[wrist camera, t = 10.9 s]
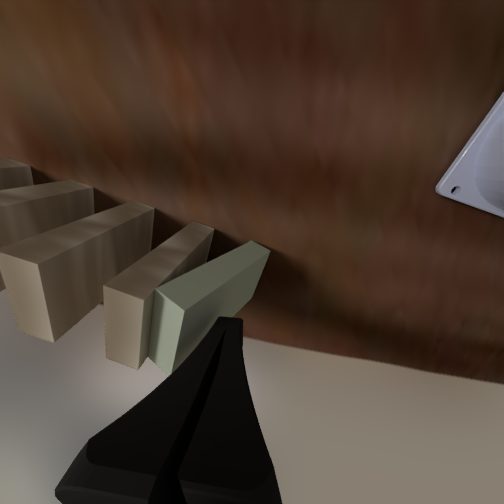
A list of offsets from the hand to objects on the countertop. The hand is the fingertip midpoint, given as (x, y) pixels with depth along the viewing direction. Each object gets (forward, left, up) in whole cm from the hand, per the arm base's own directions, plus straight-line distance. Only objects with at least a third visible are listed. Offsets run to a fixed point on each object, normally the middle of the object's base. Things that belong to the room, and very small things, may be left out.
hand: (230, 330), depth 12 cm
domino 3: (+9, 0, -7) cm, 12 cm away
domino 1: (0, 0, -7) cm, 7 cm away
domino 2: (+4, 0, -7) cm, 8 cm away
